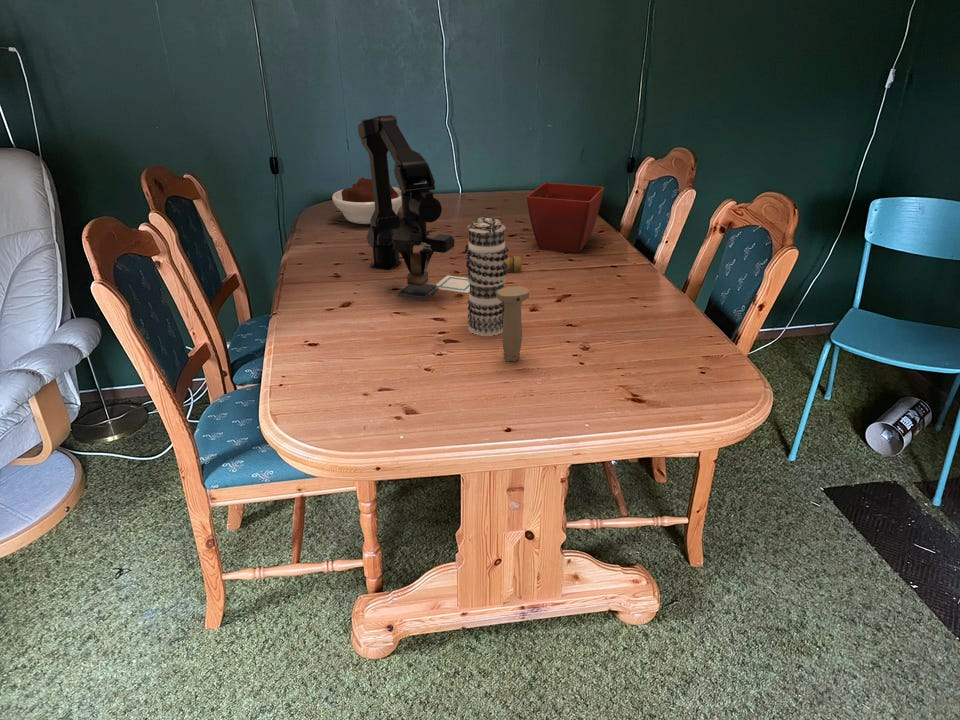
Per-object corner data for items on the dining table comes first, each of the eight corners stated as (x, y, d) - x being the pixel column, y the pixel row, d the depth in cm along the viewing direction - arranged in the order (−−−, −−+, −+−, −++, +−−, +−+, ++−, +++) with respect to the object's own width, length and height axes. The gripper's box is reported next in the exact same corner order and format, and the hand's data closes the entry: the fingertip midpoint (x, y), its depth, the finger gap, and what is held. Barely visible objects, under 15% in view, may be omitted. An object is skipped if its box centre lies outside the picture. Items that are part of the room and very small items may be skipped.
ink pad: (397, 296, 163) (397, 291, 162) (411, 285, 170) (411, 281, 169) (426, 300, 160) (425, 295, 160) (439, 289, 167) (438, 284, 166)
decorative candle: (493, 340, 140) (494, 229, 129) (458, 331, 145) (456, 222, 133) (514, 325, 147) (516, 218, 135) (480, 317, 151) (479, 212, 140)
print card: (432, 288, 168) (432, 287, 168) (447, 275, 176) (447, 274, 176) (467, 293, 165) (467, 292, 164) (481, 280, 173) (481, 279, 173)
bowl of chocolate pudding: (319, 223, 222) (314, 179, 215) (370, 208, 240) (366, 166, 233) (373, 235, 209) (368, 189, 202) (421, 218, 227) (419, 175, 220)
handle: (492, 356, 134) (493, 289, 127) (520, 351, 136) (522, 284, 129) (502, 366, 130) (503, 298, 123) (530, 361, 132) (533, 293, 125)
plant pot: (523, 251, 194) (525, 195, 187) (542, 233, 210) (544, 181, 202) (585, 258, 188) (590, 201, 180) (600, 240, 204) (604, 186, 196)
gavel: (482, 240, 195) (515, 240, 195) (482, 255, 196) (515, 255, 197) (484, 259, 175) (521, 258, 176) (484, 275, 177) (521, 274, 177)
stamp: (407, 284, 163) (405, 256, 159) (414, 278, 166) (412, 251, 163) (421, 286, 162) (420, 257, 158) (428, 280, 165) (427, 253, 161)
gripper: (363, 217, 152) (369, 279, 159) (435, 224, 146) (437, 289, 153) (386, 205, 161) (390, 264, 168) (454, 212, 155) (456, 273, 162)
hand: (417, 273), depth 163 cm, fingers closed on stamp, 3 cm apart
